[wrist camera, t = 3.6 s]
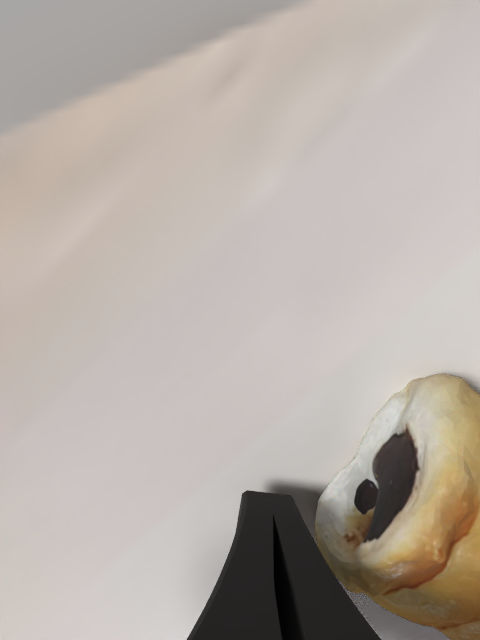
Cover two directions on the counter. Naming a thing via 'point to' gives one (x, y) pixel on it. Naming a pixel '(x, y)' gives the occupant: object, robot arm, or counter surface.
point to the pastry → (412, 509)
